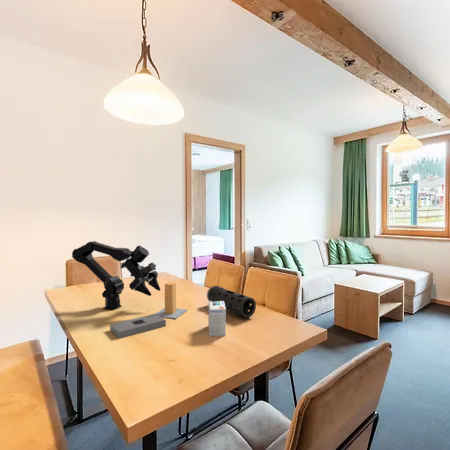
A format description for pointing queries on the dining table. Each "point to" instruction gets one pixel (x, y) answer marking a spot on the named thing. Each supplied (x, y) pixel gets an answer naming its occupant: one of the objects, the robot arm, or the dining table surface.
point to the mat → (172, 316)
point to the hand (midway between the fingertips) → (155, 292)
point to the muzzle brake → (233, 301)
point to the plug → (170, 298)
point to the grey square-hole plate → (137, 325)
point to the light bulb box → (217, 318)
